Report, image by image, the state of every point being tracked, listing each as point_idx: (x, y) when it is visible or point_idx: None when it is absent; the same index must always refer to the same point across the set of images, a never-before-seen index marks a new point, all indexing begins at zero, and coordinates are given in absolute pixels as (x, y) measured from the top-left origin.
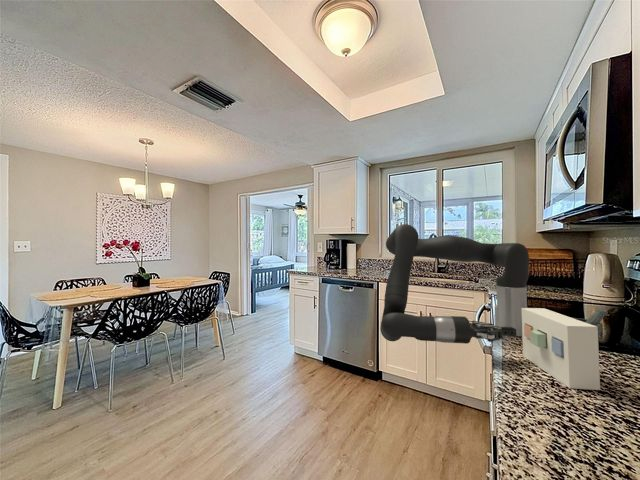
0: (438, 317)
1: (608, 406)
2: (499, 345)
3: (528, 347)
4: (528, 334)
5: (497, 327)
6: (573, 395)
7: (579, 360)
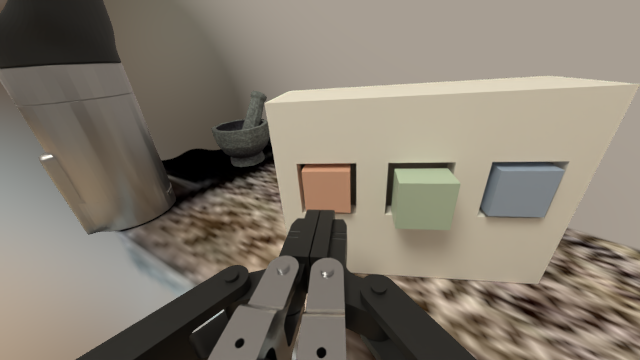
0: None
1: (613, 264)
2: (185, 288)
3: None
4: (334, 199)
5: (321, 278)
6: (603, 304)
7: None
